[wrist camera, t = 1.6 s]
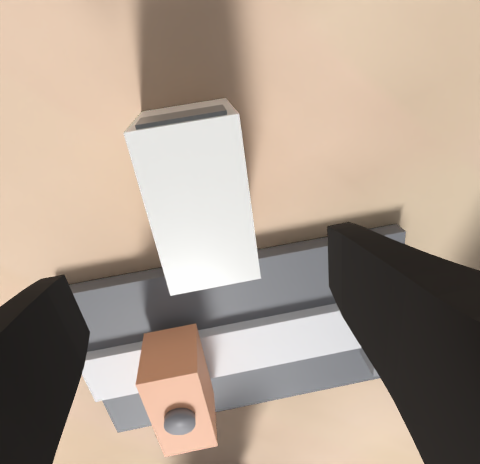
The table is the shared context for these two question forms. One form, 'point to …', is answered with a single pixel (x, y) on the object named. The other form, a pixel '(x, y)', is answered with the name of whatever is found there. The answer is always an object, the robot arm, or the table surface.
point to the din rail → (227, 331)
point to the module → (196, 193)
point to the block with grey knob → (177, 390)
